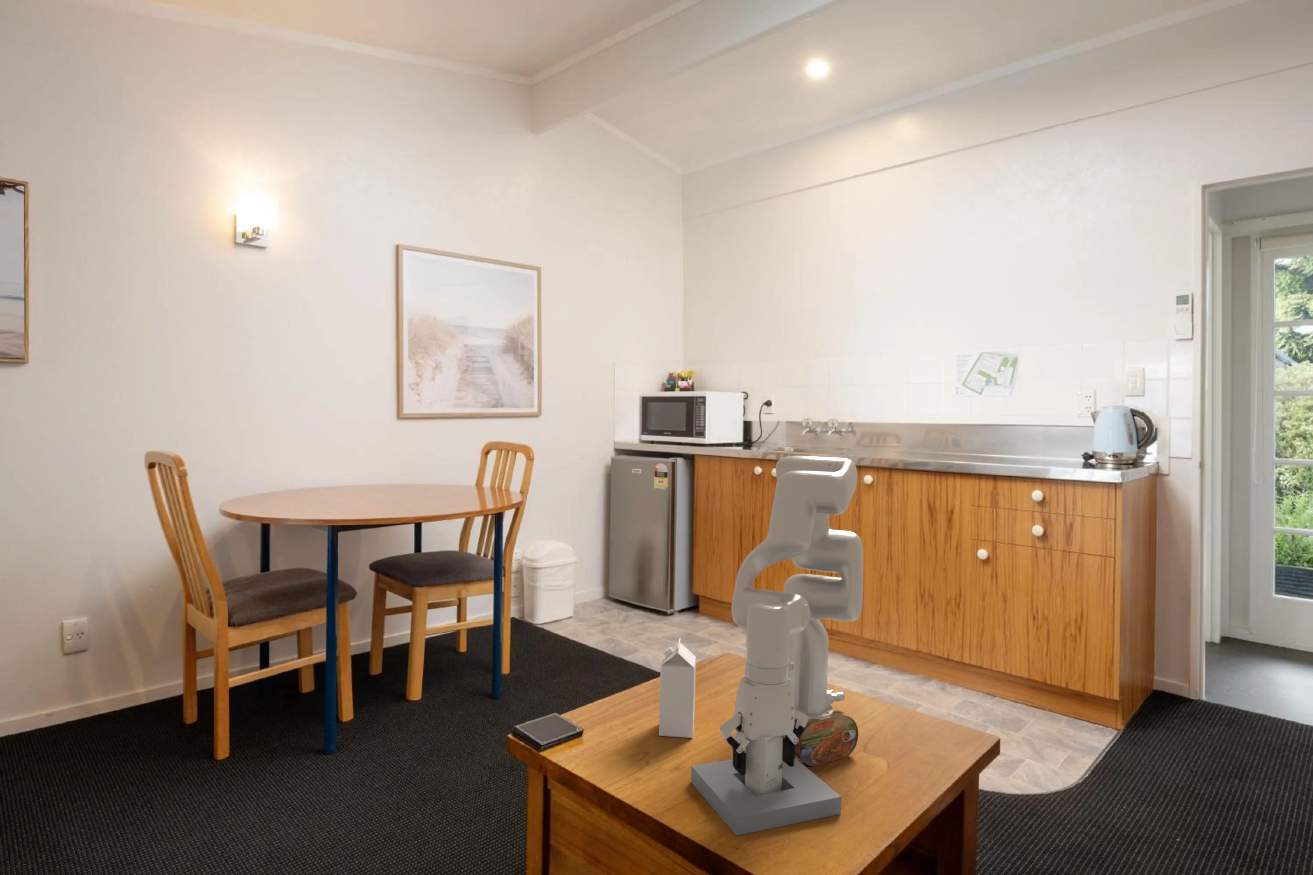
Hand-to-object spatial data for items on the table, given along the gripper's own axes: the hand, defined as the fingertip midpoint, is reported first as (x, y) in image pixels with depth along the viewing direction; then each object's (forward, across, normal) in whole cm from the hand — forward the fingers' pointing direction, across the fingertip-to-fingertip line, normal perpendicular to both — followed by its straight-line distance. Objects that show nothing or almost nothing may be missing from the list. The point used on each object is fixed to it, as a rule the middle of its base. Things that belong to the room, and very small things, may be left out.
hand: (763, 767), depth 128 cm
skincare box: (+6, 0, 0) cm, 6 cm away
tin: (+6, -19, -9) cm, 22 cm away
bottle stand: (+5, 0, 0) cm, 5 cm away
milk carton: (+6, +4, -30) cm, 31 cm away
